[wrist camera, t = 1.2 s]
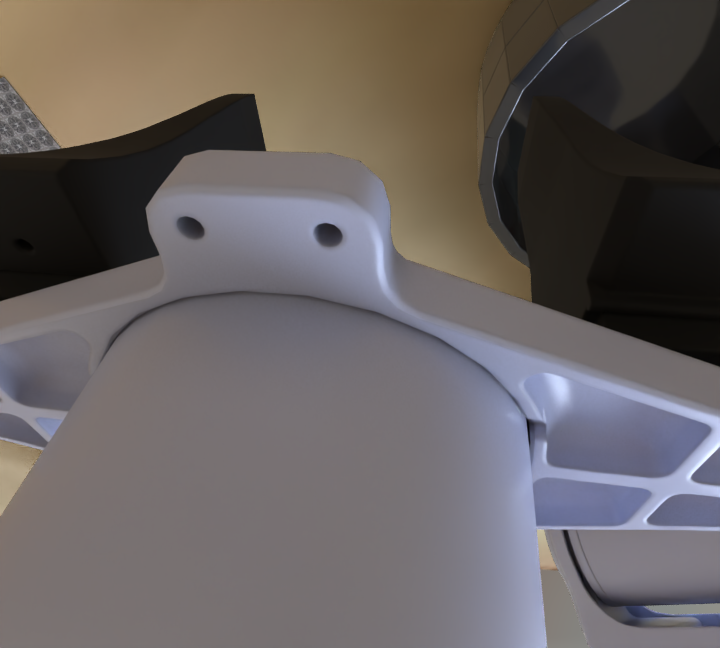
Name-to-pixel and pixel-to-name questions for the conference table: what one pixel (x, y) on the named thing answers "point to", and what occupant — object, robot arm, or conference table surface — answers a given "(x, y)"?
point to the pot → (597, 85)
